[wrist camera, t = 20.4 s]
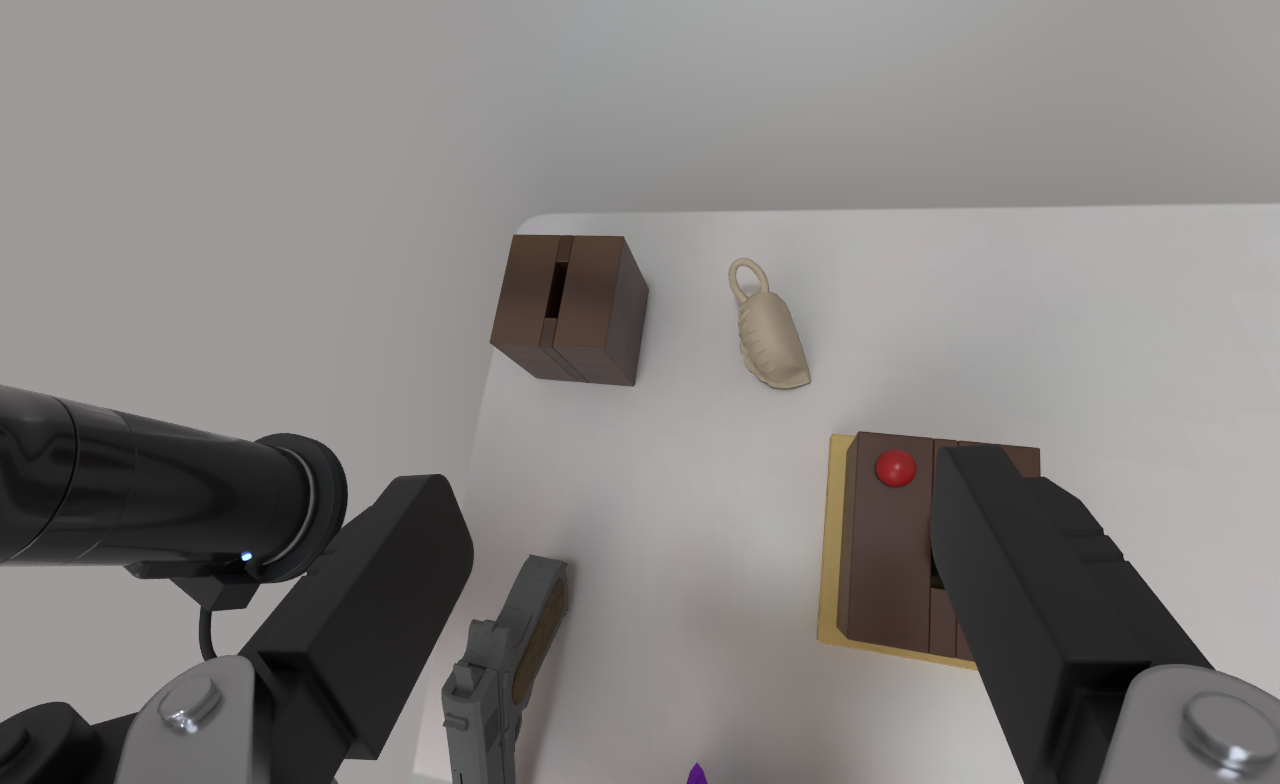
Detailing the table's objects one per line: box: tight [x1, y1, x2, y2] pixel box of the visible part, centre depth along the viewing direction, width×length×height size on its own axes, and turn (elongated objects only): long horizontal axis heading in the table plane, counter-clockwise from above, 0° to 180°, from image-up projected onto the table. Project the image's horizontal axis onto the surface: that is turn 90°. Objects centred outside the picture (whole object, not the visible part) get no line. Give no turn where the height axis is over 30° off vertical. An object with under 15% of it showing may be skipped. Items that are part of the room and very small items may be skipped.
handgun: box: [442, 554, 568, 784], centre depth 37 cm, size 3×18×12 cm
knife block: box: [490, 235, 649, 386], centre depth 42 cm, size 8×8×8 cm
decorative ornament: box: [729, 258, 811, 388], centre depth 40 cm, size 4×8×5 cm, turn 11°
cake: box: [817, 431, 1041, 670], centre depth 33 cm, size 13×11×9 cm
